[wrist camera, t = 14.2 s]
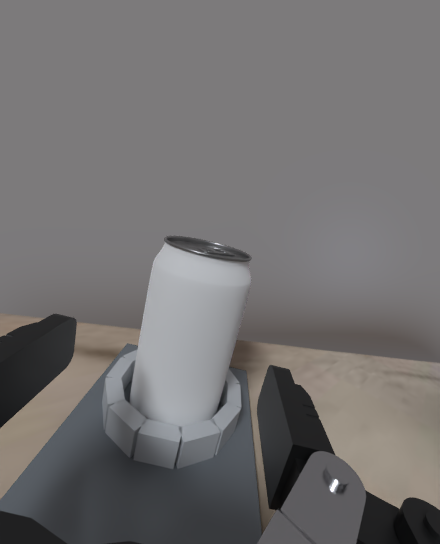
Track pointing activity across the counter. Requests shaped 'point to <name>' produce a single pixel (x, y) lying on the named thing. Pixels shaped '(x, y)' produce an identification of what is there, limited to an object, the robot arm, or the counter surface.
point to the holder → (144, 471)
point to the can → (189, 329)
